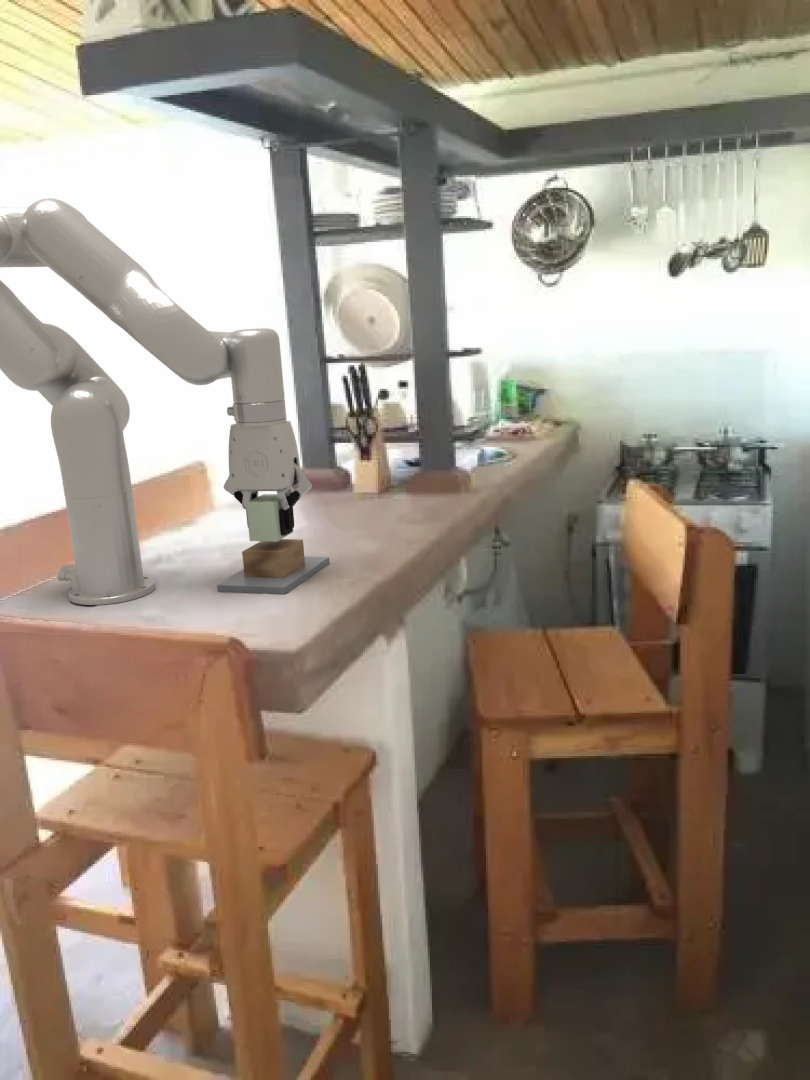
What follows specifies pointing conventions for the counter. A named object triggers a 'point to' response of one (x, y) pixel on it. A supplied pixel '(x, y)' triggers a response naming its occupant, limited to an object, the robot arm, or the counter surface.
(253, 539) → the sage block
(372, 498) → the counter surface
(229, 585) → the slate baseplate
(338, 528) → the counter surface
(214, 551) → the counter surface
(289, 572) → the walnut base block
